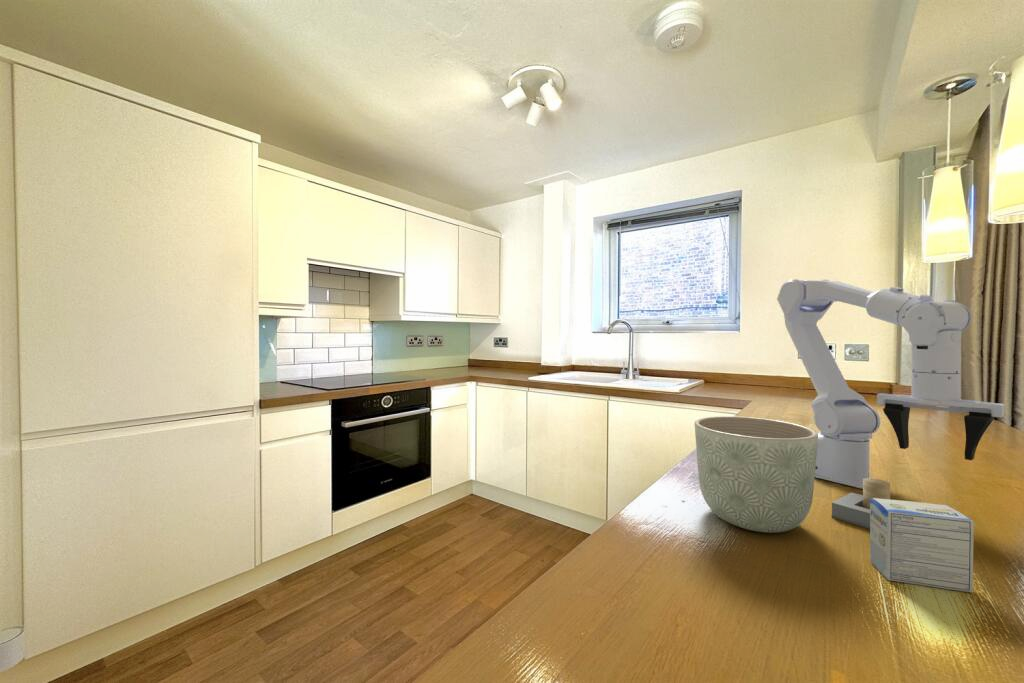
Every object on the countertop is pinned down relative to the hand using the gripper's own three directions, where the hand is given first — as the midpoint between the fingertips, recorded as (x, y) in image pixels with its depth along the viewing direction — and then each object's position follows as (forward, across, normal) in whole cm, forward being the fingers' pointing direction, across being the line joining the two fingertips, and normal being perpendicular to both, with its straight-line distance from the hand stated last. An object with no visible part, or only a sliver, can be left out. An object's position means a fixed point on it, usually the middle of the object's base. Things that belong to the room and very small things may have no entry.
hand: (935, 453), depth 67 cm
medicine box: (+10, +4, -28) cm, 30 cm away
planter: (+10, -15, -29) cm, 34 cm away
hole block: (+10, -4, -13) cm, 17 cm away
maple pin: (+10, -4, -13) cm, 17 cm away
